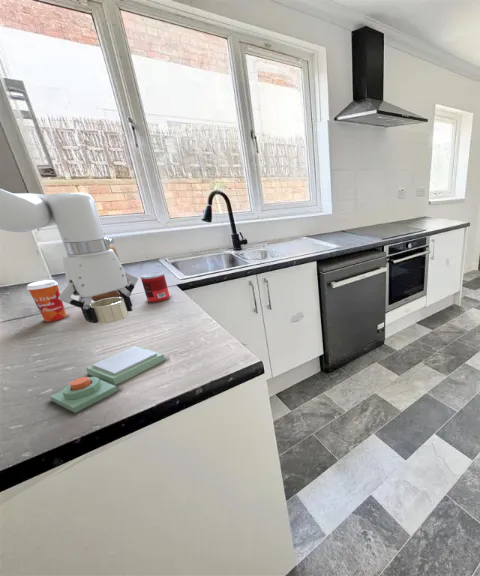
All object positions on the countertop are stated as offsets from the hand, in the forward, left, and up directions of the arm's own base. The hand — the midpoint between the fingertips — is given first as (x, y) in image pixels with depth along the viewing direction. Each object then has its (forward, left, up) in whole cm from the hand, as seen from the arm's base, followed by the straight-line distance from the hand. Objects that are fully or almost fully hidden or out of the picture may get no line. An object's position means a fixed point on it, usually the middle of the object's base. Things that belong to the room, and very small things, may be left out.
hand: (111, 315), depth 79 cm
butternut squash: (+25, +56, -15) cm, 63 cm away
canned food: (+35, +44, -15) cm, 58 cm away
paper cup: (+8, +60, -15) cm, 62 cm away
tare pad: (-12, -5, -15) cm, 19 cm away
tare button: (-12, -5, -12) cm, 18 cm away
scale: (-1, -1, -15) cm, 15 cm away
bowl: (0, 0, -1) cm, 1 cm away
